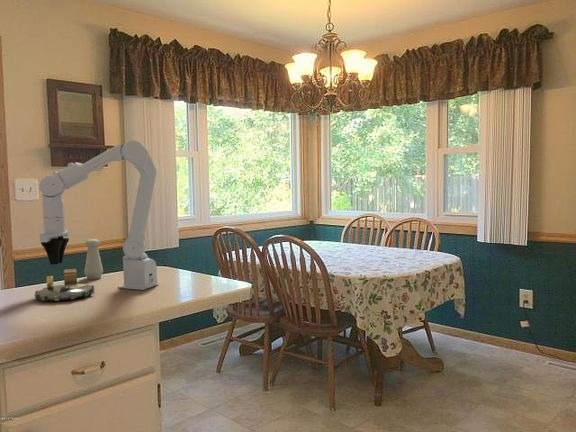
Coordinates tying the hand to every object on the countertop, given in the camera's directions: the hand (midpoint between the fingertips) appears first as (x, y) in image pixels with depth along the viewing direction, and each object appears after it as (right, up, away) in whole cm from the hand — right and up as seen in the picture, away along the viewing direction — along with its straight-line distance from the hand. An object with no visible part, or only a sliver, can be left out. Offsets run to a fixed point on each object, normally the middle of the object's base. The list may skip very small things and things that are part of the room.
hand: (56, 263), depth 144 cm
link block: (+1, -8, +8) cm, 11 cm away
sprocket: (+5, -9, -6) cm, 12 cm away
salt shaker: (+3, -7, +20) cm, 21 cm away
